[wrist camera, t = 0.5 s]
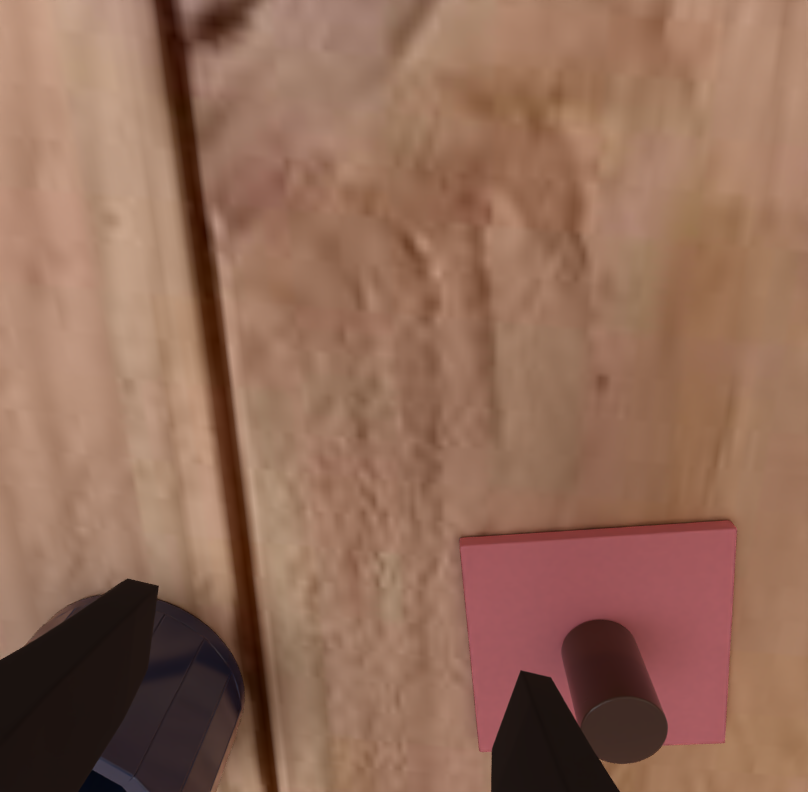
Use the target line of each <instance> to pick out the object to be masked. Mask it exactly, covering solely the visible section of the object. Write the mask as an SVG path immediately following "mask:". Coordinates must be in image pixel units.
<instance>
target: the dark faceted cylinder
mask: <svg viewBox="0 0 808 792" xmlns="http://www.w3.org/2000/svg"><path fill="white" fill-rule="evenodd" d="M101 596H102V595H99V596H93V597H89V598H86V599H83V600H79V601H77V602H75V603H73V604H71V605H68V606H67V607H65V608H64V609H62V610H61V611H59V612H57V613H56V614H55V615H54V616H53V617H52V618H51V619H50V620H49V621H48V622H47V623H46V624H44V625H43V626H42V627H40V629H39V630H38V631H37V632H36V633H35V634H34V636H33V637H32V638H31V639H30V640H29V641H28V642H27V644H29V643H30V642H32V641H34V640H35V639H37V638H38V637H40V636H42V635H43V634H45V633H46V632H48V631H49V630H51V629H53V628H54V627H56V626H57V625H59V624H60V623H62V622H63V621H65V620H67V619H68V618H70V617H71V616H73V615H74V614H76V613H77V612H79V611H80V610H82V609H83V608H85V607H86V606H87V605H89V604H90V603H92V602H93V601H95V600H96V599H98V598H99V597H101ZM27 644H26V645H27ZM26 645H25V646H26ZM244 702H245V693H244V685H243V680H242V676H241V673H240V670H239V667H238V665H237V663H236V661H235V659H234V657H233V655H232V653H231V652H230V651H229V649H228V648H227V646H226V645H225V644H224V642H223V641H222V640H221V639H220V638H219V637H218V636H217V635H216V634H215V632H213V631H212V630H211V629H210V628H209V627H208V626H207V625H205V624H204V623H203V622H201V621H200V620H199V619H197V618H196V617H194V616H193V615H191V614H189V613H188V612H186V611H184V610H182V609H180V608H178V607H176V606H174V605H171V604H169V603H166V602H164V601H160V600H157V603H156V610H155V618H154V626H153V633H152V641H151V649H150V656H149V664H148V670H147V672H146V674H145V676H144V678H143V681H142V683H141V685H140V687H139V689H138V691H137V693H136V695H135V697H134V699H133V701H132V703H131V706H130V708H129V710H128V712H127V714H126V716H125V718H124V720H123V721H122V723H121V724H120V726H119V728H118V729H117V731H116V733H115V734H114V736H113V737H112V739H111V741H110V742H109V744H108V745H107V747H106V749H105V750H104V752H103V753H102V755H101V757H100V758H99V760H98V761H97V763H96V764H95V766H94V768H93V769H92V771H91V772H90V774H89V776H88V777H87V779H86V780H85V782H84V783H83V785H82V787H81V788H80V790H79V791H78V792H216V791H217V788H218V786H219V783H220V780H221V777H222V775H223V772H224V769H225V766H226V764H227V761H228V758H229V755H230V753H231V750H232V747H233V745H234V742H235V739H236V735H237V730H238V726H239V724H240V721H241V717H242V714H243V711H244Z"/></svg>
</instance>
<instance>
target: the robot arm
mask: <svg viewBox="0 0 808 792" xmlns="http://www.w3.org/2000/svg"><path fill="white" fill-rule="evenodd" d="M158 587H159V586H157V585H153V584H148V583H144V582H140V581H135V580H131V579H126V580H125V581H123V582H121V583H120V584H118V585H117V586H115V587H114V588H112V589H111V590H109V591H108V592H106V593H105V594H104V595H102V596H101V597H99V598H98V599H96V600H95V601H93V602H92V603H90V604H89V605H87V606H86V607H85V608H83V609H82V610H80V611H79V612H77V613H76V614H74V615H73V616H71V617H70V618H68V619H67V620H65V621H63V622H62V623H60V624H59V625H57V626H56V627H54V628H53V629H51V630H49V631H48V632H46V633H45V634H43V635H42V636H40V637H38V638H37V639H35V640H34V641H32V642H30V643H29V644H27V645H26V646H24V647H22V648H20V649H19V650H17V651H15V652H14V653H12V654H10V655H8V656H7V657H5V658H3V659H1V660H0V792H78V791H79V790H80V788H81V787H82V785H83V783H84V782H85V780H86V779H87V777H88V776H89V774H90V772H91V771H92V769H93V768H94V766H95V764H96V763H97V761H98V760H99V758H100V757H101V755H102V753H103V752H104V750H105V749H106V747H107V745H108V744H109V742H110V741H111V739H112V737H113V736H114V734H115V733H116V731H117V729H118V728H119V726H120V724H121V723H122V721H123V720H124V718H125V716H126V714H127V712H128V710H129V708H130V706H131V703H132V701H133V699H134V697H135V695H136V693H137V691H138V689H139V687H140V685H141V683H142V681H143V678H144V676H145V674H146V672H147V670H148V664H149V656H150V649H151V641H152V633H153V626H154V618H155V610H156V603H157V595H158ZM491 792H620V791H619V790H618V788H617V787H616V785H615V784H614V782H613V780H612V779H611V777H610V776H609V774H608V773H607V771H606V769H605V768H604V766H603V765H602V763H601V761H600V760H599V758H598V757H597V755H596V753H595V752H594V750H593V748H592V747H591V745H590V743H589V742H588V740H587V738H586V737H585V735H584V733H583V732H582V730H581V728H580V727H579V725H578V723H577V721H576V720H575V718H574V716H573V714H572V713H571V711H570V709H569V708H568V706H567V704H566V702H565V701H564V699H563V697H562V695H561V694H560V692H559V690H558V688H557V687H556V685H555V683H554V682H553V680H552V678H551V677H548V676H543V675H539V674H535V673H531V672H526V671H522V670H520V673H519V676H518V679H517V681H516V684H515V687H514V689H513V692H512V695H511V698H510V700H509V703H508V706H507V709H506V711H505V714H504V717H503V720H502V722H501V725H500V728H499V730H498V733H497V736H496V739H495V741H494V744H493V747H492V774H491Z"/></svg>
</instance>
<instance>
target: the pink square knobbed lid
mask: <svg viewBox="0 0 808 792" xmlns="http://www.w3.org/2000/svg"><path fill="white" fill-rule="evenodd" d="M736 538H737V528H736V527H735V526H734V524H733V523H732V522H731V521H729V520H726V521H711V522H695V523H680V524H665V525H649V526H634V527H619V528H603V529H588V530H573V531H557V532H542V533H527V534H511V535H496V536H481V537H465V538H460V555H461V565H462V576H463V586H464V597H465V607H466V618H467V628H468V639H469V649H470V660H471V670H472V681H473V691H474V702H475V712H476V723H477V733H478V744H479V751H480V752H492V747H493V744H494V741H495V739H496V736H497V733H498V730H499V728H500V725H501V722H502V720H503V717H504V714H505V711H506V709H507V706H508V703H509V700H510V698H511V695H512V692H513V689H514V687H515V684H516V681H517V679H518V676H519V673H520V670H522V671H526V672H531V673H535V674H539V675H543V676H548V677H551V678H552V680H553V682H554V683H555V685H556V687H557V688H558V690H559V692H560V694H561V695H562V697H563V699H564V701H565V702H566V704H567V706H568V708H569V709H570V711H571V713H572V714H573V716H574V718H575V720H576V721H577V723H578V725H579V727H580V728H581V730H582V732H583V733H584V735H585V737H586V738H587V740H588V742H589V743H590V745H591V747H592V748H593V750H594V752H595V753H596V755H597V757H598V758H599V759H601V760H604V761H607V762H611V763H617V764H627V763H634V762H638V761H641V760H644V759H646V758H648V757H650V756H651V755H653V754H654V753H656V752H657V751H658V750H659V749H660V748H661V746H662V745H688V744H716V743H725V731H726V713H727V696H728V678H729V661H730V643H731V626H732V608H733V591H734V573H735V556H736Z"/></svg>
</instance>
